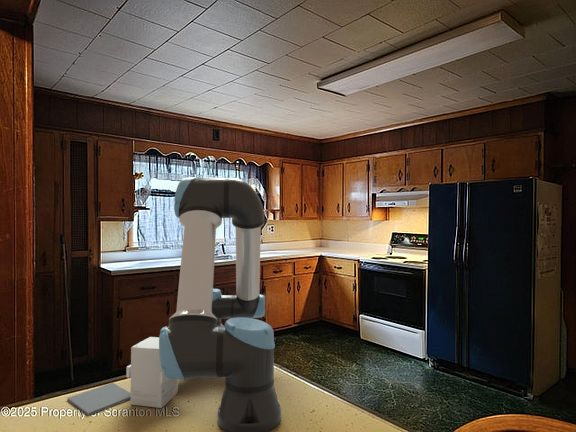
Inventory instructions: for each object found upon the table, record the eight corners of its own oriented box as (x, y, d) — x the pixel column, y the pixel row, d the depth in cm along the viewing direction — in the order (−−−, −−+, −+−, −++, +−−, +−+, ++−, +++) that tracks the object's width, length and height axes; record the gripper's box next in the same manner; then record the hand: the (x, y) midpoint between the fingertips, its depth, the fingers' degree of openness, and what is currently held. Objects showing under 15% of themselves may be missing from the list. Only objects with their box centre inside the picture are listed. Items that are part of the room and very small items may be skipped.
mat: (134, 397, 104) (134, 395, 104) (88, 415, 95) (88, 413, 95) (112, 384, 112) (112, 382, 112) (67, 400, 102) (67, 397, 102)
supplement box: (161, 409, 98) (161, 349, 98) (129, 405, 100) (129, 346, 100) (178, 392, 107) (179, 338, 107) (149, 389, 109) (149, 335, 109)
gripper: (225, 363, 117) (181, 396, 95) (162, 354, 124) (109, 383, 103) (225, 338, 117) (181, 366, 95) (162, 330, 124) (109, 354, 103)
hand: (144, 375), depth 99 cm, fingers closed on supplement box, 9 cm apart
